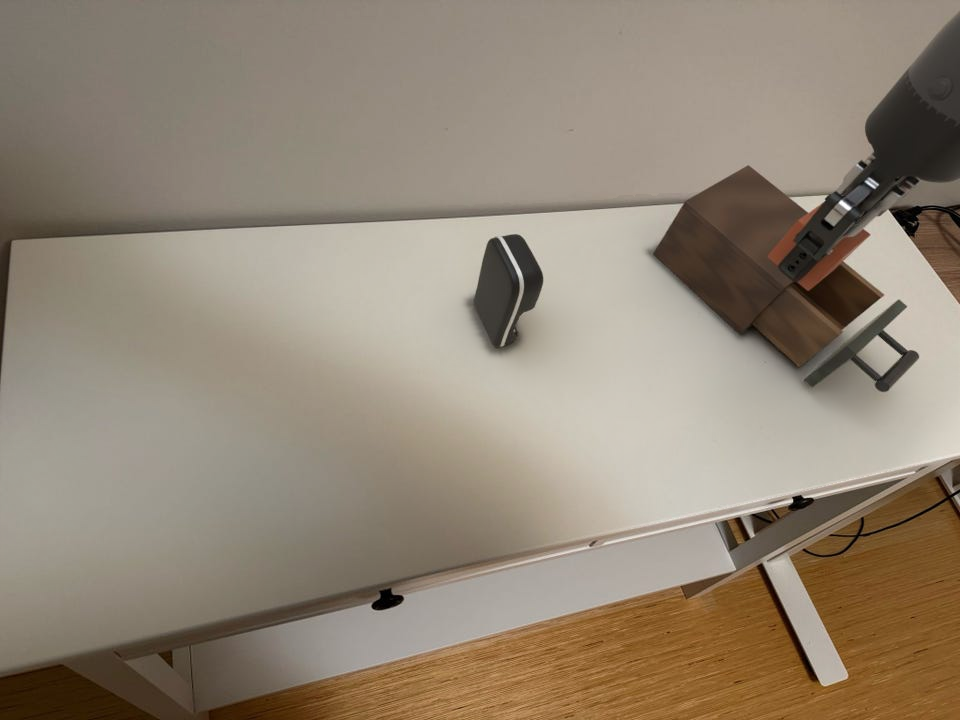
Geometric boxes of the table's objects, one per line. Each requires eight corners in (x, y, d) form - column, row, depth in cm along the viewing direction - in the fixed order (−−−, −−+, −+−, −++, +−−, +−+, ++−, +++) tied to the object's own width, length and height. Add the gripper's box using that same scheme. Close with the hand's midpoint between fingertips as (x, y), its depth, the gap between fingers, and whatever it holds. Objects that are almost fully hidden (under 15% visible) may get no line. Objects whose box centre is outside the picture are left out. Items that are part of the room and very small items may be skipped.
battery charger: (526, 342, 64) (553, 276, 55) (494, 351, 63) (516, 285, 54) (501, 293, 67) (523, 223, 58) (471, 300, 66) (488, 229, 57)
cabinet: (797, 290, 75) (845, 241, 68) (739, 334, 70) (785, 287, 62) (712, 217, 80) (748, 164, 72) (652, 253, 75) (684, 200, 67)
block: (834, 269, 53) (871, 234, 49) (808, 291, 51) (844, 256, 47) (793, 236, 54) (826, 199, 50) (766, 256, 52) (798, 220, 48)
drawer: (895, 371, 70) (946, 337, 63) (847, 420, 65) (897, 389, 58) (775, 267, 75) (810, 227, 69) (722, 305, 71) (755, 266, 64)
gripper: (975, 162, 34) (794, 327, 48) (1059, 91, 40) (876, 256, 54) (866, 88, 36) (724, 267, 50) (961, 32, 42) (811, 205, 57)
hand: (804, 261), depth 52 cm, fingers closed on block, 4 cm apart
